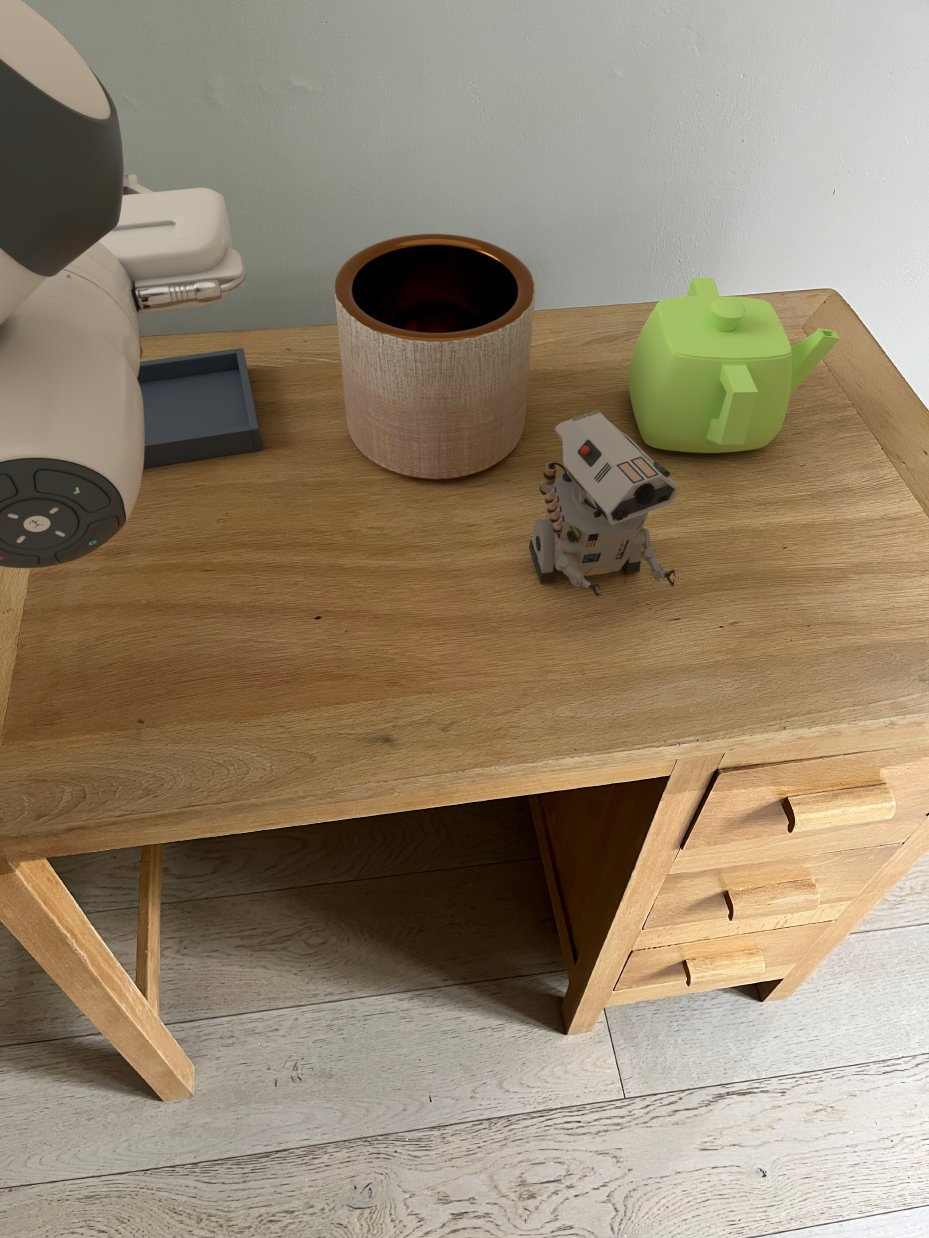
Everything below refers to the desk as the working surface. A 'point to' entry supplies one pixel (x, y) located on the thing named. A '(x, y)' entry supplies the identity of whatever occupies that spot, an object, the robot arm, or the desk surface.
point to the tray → (197, 407)
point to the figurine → (598, 504)
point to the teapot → (717, 372)
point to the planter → (435, 352)
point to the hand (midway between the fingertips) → (55, 194)
